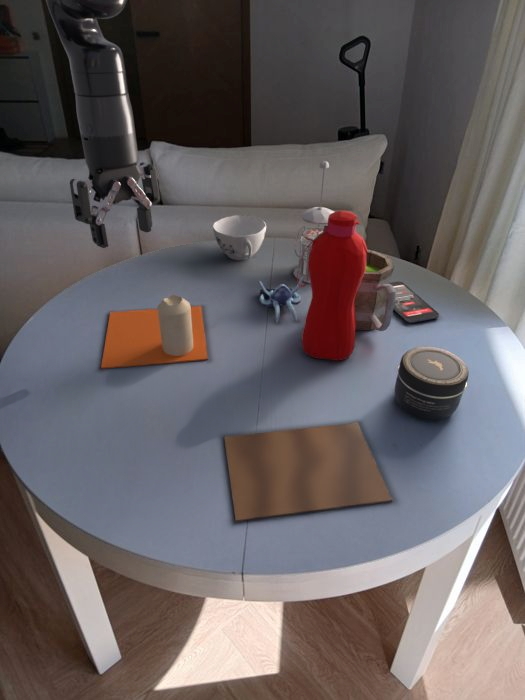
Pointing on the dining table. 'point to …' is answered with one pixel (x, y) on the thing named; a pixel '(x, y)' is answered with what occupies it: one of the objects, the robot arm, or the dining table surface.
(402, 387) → the jar
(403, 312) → the smartphone
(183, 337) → the candle
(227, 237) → the teacup
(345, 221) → the water bottle
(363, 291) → the mug
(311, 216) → the french press
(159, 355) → the towel
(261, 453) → the brown flat board
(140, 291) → the dining table surface
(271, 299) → the figurine
